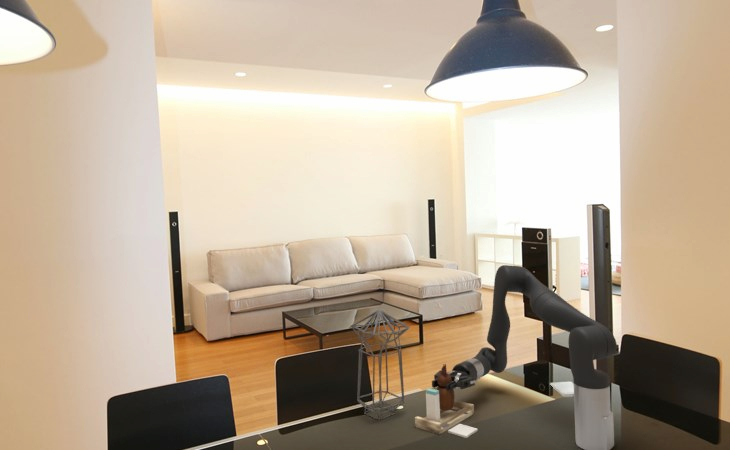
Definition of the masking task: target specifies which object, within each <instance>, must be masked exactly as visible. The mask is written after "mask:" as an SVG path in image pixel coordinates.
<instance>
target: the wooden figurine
mask: <svg viewBox="0 0 730 450" xmlns="http://www.w3.org/2000/svg"><path fill="white" fill-rule="evenodd" d="M447 372H448V371H447V364H446V363H445V364H443V365H442V367H441V374H439V375H438V377H437V383H438V384H439V386H438V387H436V390H439V403H440V409H441V410H445V411H447V410H451V409H452V408H453V406H454V400H455V390H454V389H453V390H450V391H447V390H446V384H448V383H450V382H451V381H452V378H451V376H450V374H448V373H447Z"/></svg>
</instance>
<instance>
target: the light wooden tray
mask: <svg viewBox="0 0 730 450" xmlns="http://www.w3.org/2000/svg"><path fill="white" fill-rule="evenodd" d="M474 407H475V404H473V403H469V402H465V401H460V400H457V399H454V406H453V408H452V409H451V410H447V411H445V410H441V409H440V422H436V421H432V420H429V419H427V415H426V416H424V417H421V416H419V415H418V416H415V417H414V425H415V428H418V429H420V430H423V431H425V432H428V433H429V432H430V433H432V434H436V435H441V434H443V433H445V432H446V431H448V430H450V429H451V428H453V427H455V426H456V425H458V424H460V423H461V422H462V421H464V420H466V419H467V418H469V417H471V416H473V415H474V414H475V408H474Z"/></svg>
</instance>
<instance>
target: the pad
mask: <svg viewBox="0 0 730 450" xmlns="http://www.w3.org/2000/svg"><path fill="white" fill-rule="evenodd" d="M477 432H478V428H476V427H472V426H469V425H466V424H462V423H458V424H456V425H454V426H453V427H451V428H449V429H448V430H447V433H449V434H452V435H455V436H459V437H461V438H464V439H467V438H469V437H470V436H471V435H473V434H475V433H477Z"/></svg>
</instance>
